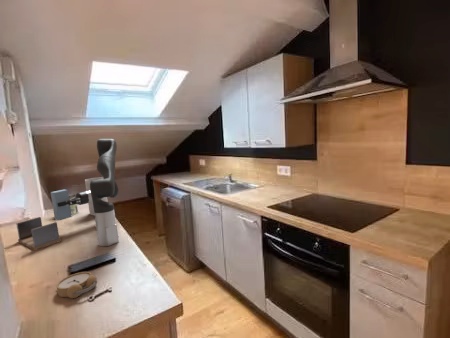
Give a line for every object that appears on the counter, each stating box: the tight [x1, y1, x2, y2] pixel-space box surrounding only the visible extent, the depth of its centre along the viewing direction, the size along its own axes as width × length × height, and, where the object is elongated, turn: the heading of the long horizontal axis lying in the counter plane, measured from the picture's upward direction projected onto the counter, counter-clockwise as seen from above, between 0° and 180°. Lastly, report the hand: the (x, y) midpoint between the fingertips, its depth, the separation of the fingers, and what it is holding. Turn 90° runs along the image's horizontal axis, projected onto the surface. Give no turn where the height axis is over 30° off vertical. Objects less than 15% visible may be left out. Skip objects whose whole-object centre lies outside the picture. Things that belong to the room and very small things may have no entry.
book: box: [50, 189, 73, 222], centre depth 144 cm, size 4×7×16 cm, turn 147°
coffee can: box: [68, 193, 79, 216], centre depth 182 cm, size 10×10×14 cm
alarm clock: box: [55, 271, 98, 299], centre depth 91 cm, size 11×5×15 cm
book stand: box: [17, 236, 62, 251], centre depth 136 cm, size 21×12×2 cm, turn 57°
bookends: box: [15, 216, 60, 247], centre depth 136 cm, size 21×11×9 cm, turn 57°
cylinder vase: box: [84, 176, 109, 216], centre depth 181 cm, size 12×12×25 cm
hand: (56, 204), depth 142 cm, fingers closed on book, 4 cm apart
